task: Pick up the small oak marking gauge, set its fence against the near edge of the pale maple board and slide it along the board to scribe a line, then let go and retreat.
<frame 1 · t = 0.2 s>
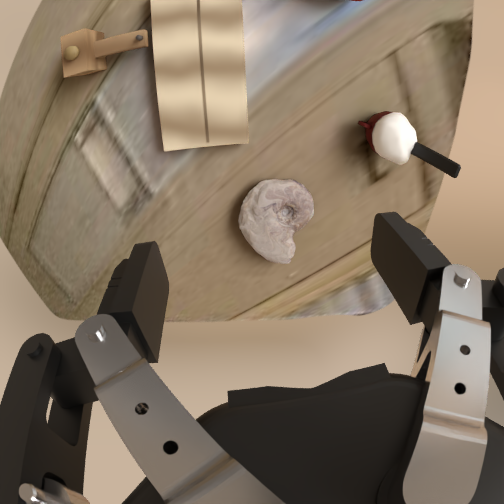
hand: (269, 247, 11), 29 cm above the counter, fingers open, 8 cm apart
fossil: (273, 215, 43), on the counter
board: (200, 64, 31), on the counter
cocoa: (380, 131, 37), on the counter
gauge: (94, 53, 28), on the counter
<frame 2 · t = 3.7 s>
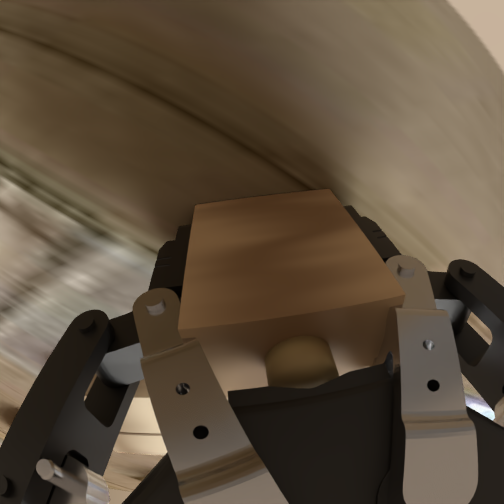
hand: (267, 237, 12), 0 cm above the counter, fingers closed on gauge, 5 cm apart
board: (219, 405, 19), on the counter
gauge: (266, 231, 12), on the counter, touching gripper
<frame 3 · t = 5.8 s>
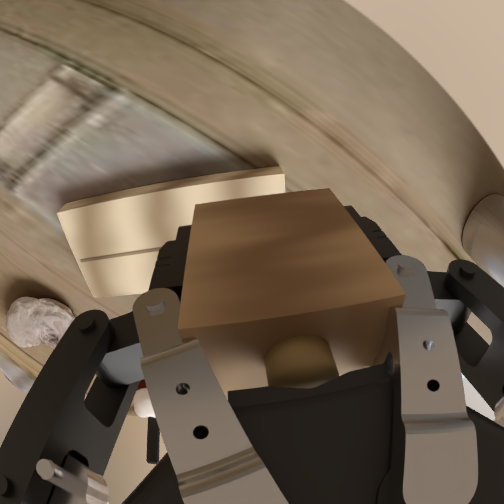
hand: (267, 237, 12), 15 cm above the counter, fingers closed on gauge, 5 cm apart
fossil: (44, 314, 33), on the counter
board: (174, 232, 28), on the counter
cocoa: (157, 377, 41), on the counter
gauge: (266, 230, 12), point 14 cm above the counter, touching gripper
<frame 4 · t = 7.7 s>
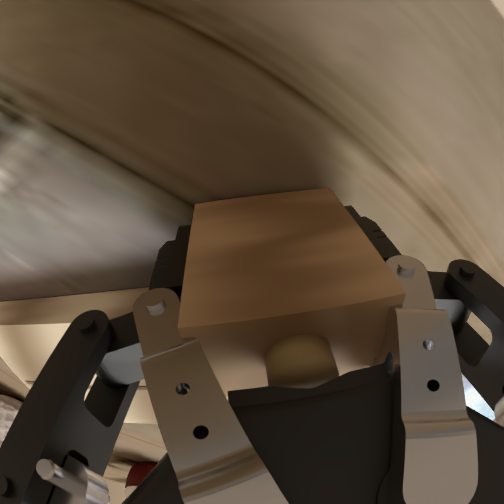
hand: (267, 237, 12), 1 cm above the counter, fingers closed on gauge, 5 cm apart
fossil: (10, 403, 21), on the counter
board: (155, 355, 16), on the counter
cocoa: (151, 465, 29), on the counter
gauge: (266, 230, 12), on the counter, touching gripper
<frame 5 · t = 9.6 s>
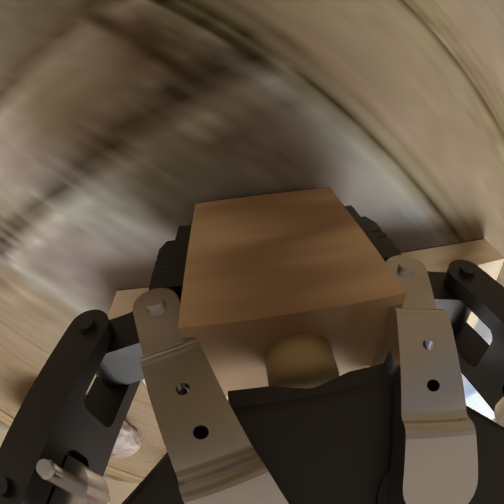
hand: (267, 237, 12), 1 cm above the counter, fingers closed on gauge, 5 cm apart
fossil: (79, 414, 22), on the counter
board: (323, 335, 17), on the counter
gauge: (266, 230, 12), point 1 cm above the counter, touching gripper
when the fingers open (1 cm above the counter, at t = 11.5 s): gauge stays where it is, on the counter.
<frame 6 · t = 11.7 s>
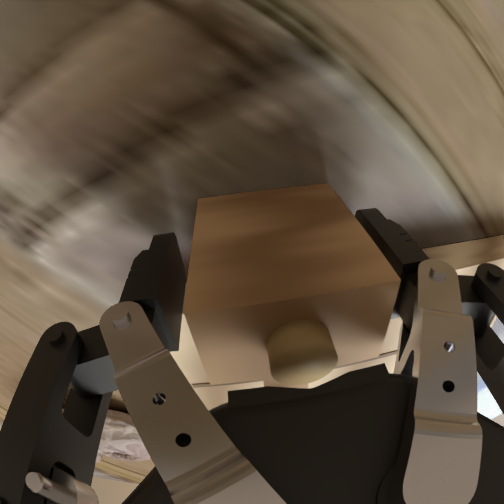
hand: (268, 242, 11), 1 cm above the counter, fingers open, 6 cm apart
fossil: (99, 417, 22), on the counter
board: (360, 328, 17), on the counter
gauge: (267, 224, 12), on the counter
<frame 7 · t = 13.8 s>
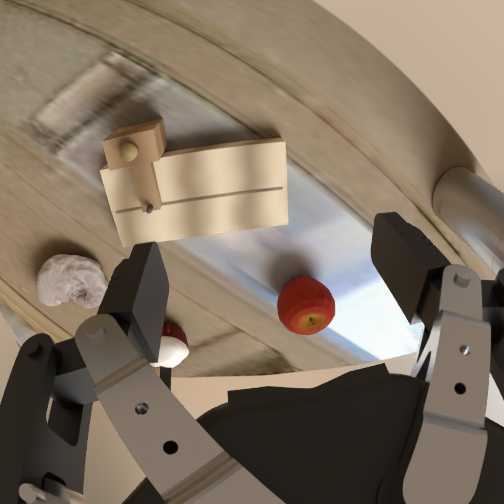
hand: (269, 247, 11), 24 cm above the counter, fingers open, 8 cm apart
fossil: (72, 273, 39), on the counter
board: (196, 189, 35), on the counter
cocoa: (168, 331, 47), on the counter
gauge: (143, 135, 30), on the counter
apple: (298, 286, 45), on the counter
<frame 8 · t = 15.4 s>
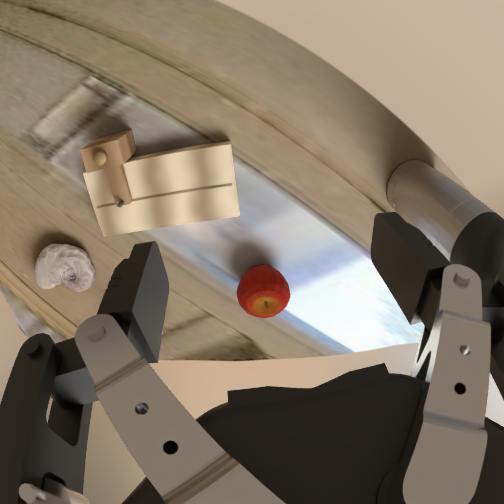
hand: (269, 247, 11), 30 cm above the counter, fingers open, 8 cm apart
fossil: (66, 261, 46), on the counter
board: (162, 187, 40), on the counter
gauge: (117, 144, 36), on the counter
apple: (260, 274, 50), on the counter
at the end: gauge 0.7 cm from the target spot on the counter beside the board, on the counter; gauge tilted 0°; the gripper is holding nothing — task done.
